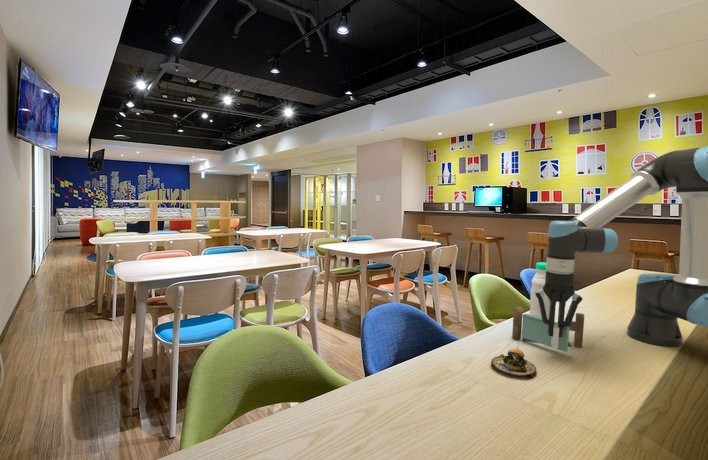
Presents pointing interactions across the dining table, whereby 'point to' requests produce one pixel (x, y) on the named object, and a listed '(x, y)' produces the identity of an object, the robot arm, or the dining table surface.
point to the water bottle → (538, 285)
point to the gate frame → (516, 335)
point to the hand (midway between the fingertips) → (554, 346)
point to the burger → (514, 363)
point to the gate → (542, 332)
